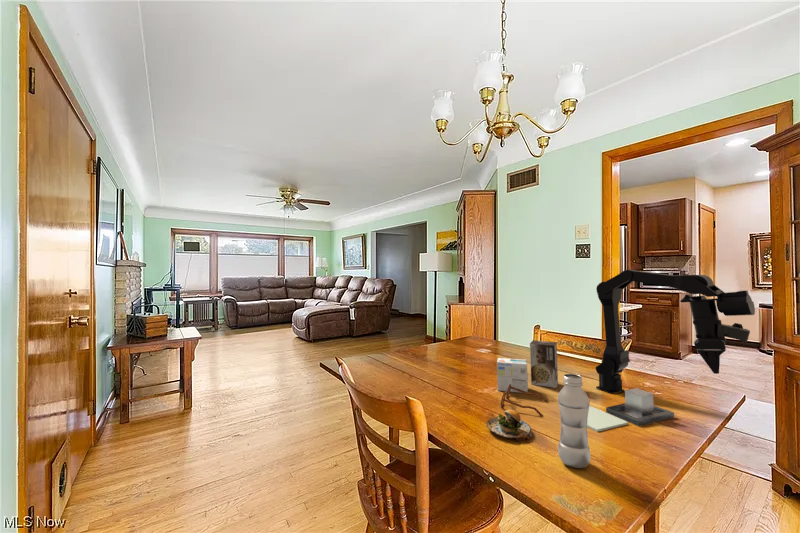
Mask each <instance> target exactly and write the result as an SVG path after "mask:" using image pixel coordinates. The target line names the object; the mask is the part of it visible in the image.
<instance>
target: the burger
mask: <svg viewBox="0 0 800 533" xmlns="http://www.w3.org/2000/svg"><path fill="white" fill-rule="evenodd" d="M517 404H518V403H517ZM517 404H516V405H517ZM516 405H515V408H514V409H506V410H505V411H504V412H503V413H504V415H505V416H503V414H502V413H499V414H498V416H497V417H496V416H495V417H492V418H490V419H489V420H488V421H487V422H486V427H487V428H488V429H489V430H490V431H491V432H493V433H494V434H496V435H497V436H500V437H502V438H508V439H515V440H516V442H517V443H522V442H525V439H527V440H530V439H531V438H532V435H533V433H532V427H531V426H530V425H529V424H528V423H527V422H526V421H524V420H522V419H521V414H520V413H518V412H517V411H516V408H517V406H516Z"/></svg>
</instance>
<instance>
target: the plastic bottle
mask: <svg viewBox="0 0 800 533" xmlns="http://www.w3.org/2000/svg"><path fill="white" fill-rule="evenodd" d="M562 384H564V385H563V387H562V388H561V389H560V391H559V392H558V395H557V403H558V409H559V418H560V434H559V440H558V446H557V452H558V457H559V459H560V461H561V462H562V463H563V464H564V465H567V466H568V467H571V468H574V469H584V468H586V467H587V466H589V464H590V462H591V457H592V455H591V450H590V444H589V438H588V437H589V434H588V427H587V420H588V412H589V406H591V405H590V403H591V401H590V399H589V396H588V394H587V393H586V392H585V390H584V389H583V388H582V387H583V378H582V376H581V375H580V374H575V373H565V374H563V383H562Z"/></svg>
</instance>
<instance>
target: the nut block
mask: <svg viewBox="0 0 800 533" xmlns="http://www.w3.org/2000/svg"><path fill="white" fill-rule="evenodd" d="M624 403H625V411H624V413H626V414H629V415H631V416H634V417H636V418H639V417H644V416H648V415H652V414H655V412H654V406H655V405H654V393H652V392H649V391H646V390H643V389H640V388H637V387H634V388H630V389H629V388H628V389H624ZM653 405H654V406H653Z"/></svg>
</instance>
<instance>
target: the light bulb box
mask: <svg viewBox="0 0 800 533" xmlns="http://www.w3.org/2000/svg"><path fill="white" fill-rule="evenodd" d="M496 373H497V376H496V377H497V391H498V390H499V391H500V392H506V391H507V390H508V387H509V384H511V387H514V388H517V389H520V390H523V391H525V392H528V390H529V389H528V388H529V387H528V384H529V383H528V382H529V380H528V379H529V378H528V363H527V359H521V358H520V359H519V358H505V357H504V358H503V357H498V358H497V361H496ZM508 393H509V391H508ZM510 393H518V394H519V393H520V394H523V393H522V392H519V391H517V390H514V389H511V390H510ZM528 393H529V392H528Z"/></svg>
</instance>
